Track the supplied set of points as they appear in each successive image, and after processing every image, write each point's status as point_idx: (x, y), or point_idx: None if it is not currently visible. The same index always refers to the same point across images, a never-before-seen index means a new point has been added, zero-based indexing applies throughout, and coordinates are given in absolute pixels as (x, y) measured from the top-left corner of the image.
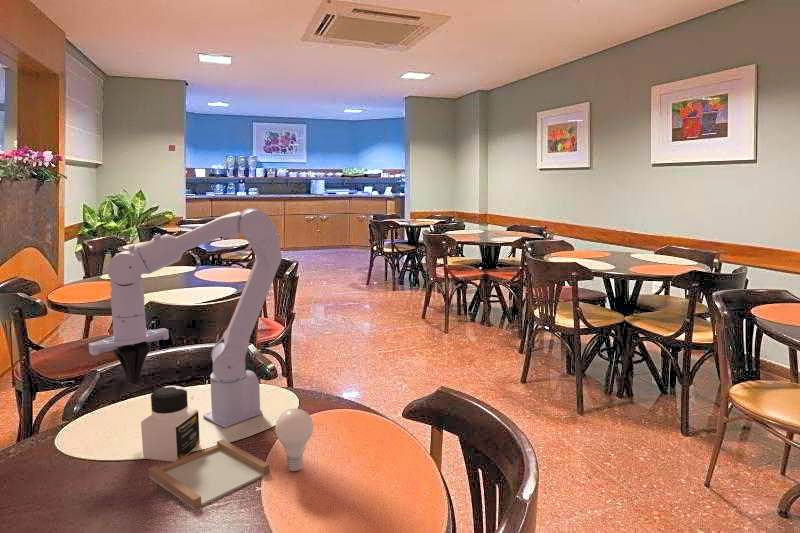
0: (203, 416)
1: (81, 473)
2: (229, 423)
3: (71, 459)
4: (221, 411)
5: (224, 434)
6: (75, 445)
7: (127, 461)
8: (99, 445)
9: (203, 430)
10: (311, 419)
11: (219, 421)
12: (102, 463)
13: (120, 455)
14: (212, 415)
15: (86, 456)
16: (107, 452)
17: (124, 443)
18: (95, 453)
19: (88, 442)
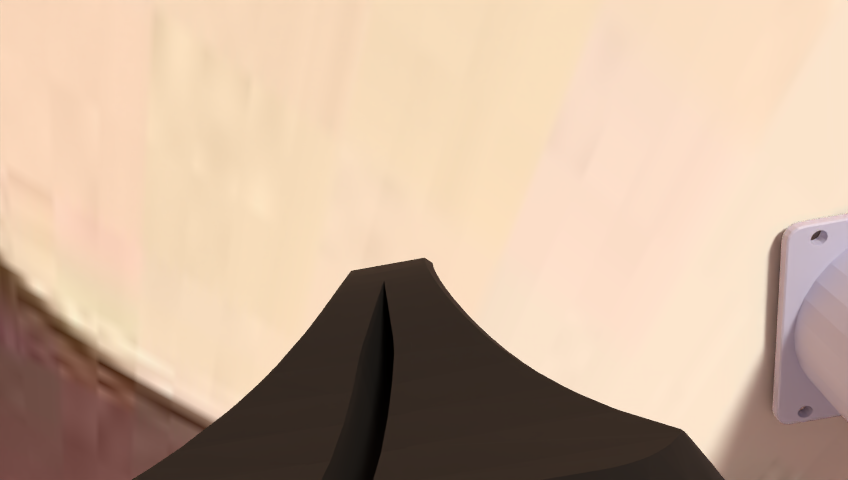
0: (784, 237)
1: (67, 461)
2: (815, 414)
3: (12, 309)
4: (842, 414)
5: (731, 463)
6: (22, 147)
7: None
8: (159, 231)
9: (684, 373)
10: None
11: (796, 367)
12: (161, 426)
13: None
14: (810, 314)
15: (88, 319)
16: (193, 336)
17: (290, 287)
18: (134, 313)
19: (99, 152)
